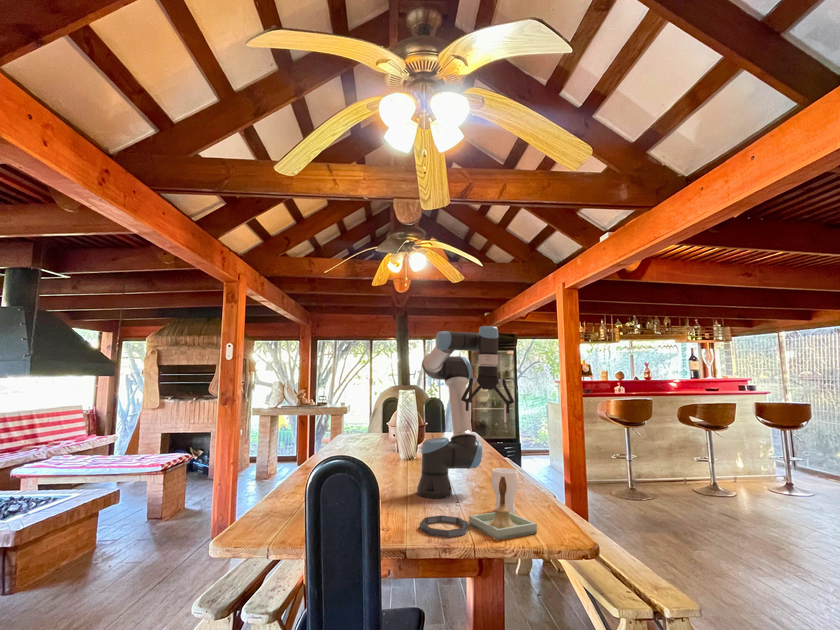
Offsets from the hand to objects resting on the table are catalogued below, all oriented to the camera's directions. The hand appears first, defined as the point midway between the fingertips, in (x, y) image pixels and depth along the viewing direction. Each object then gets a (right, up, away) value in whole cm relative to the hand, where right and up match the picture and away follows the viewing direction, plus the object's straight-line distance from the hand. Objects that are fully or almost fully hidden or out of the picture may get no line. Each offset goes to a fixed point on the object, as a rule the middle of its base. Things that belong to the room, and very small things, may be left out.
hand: (487, 420), depth 172 cm
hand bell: (+2, -31, -22) cm, 37 cm away
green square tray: (+2, -31, -22) cm, 38 cm away
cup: (+7, -35, -1) cm, 35 cm away
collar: (-18, -31, -23) cm, 42 cm away
